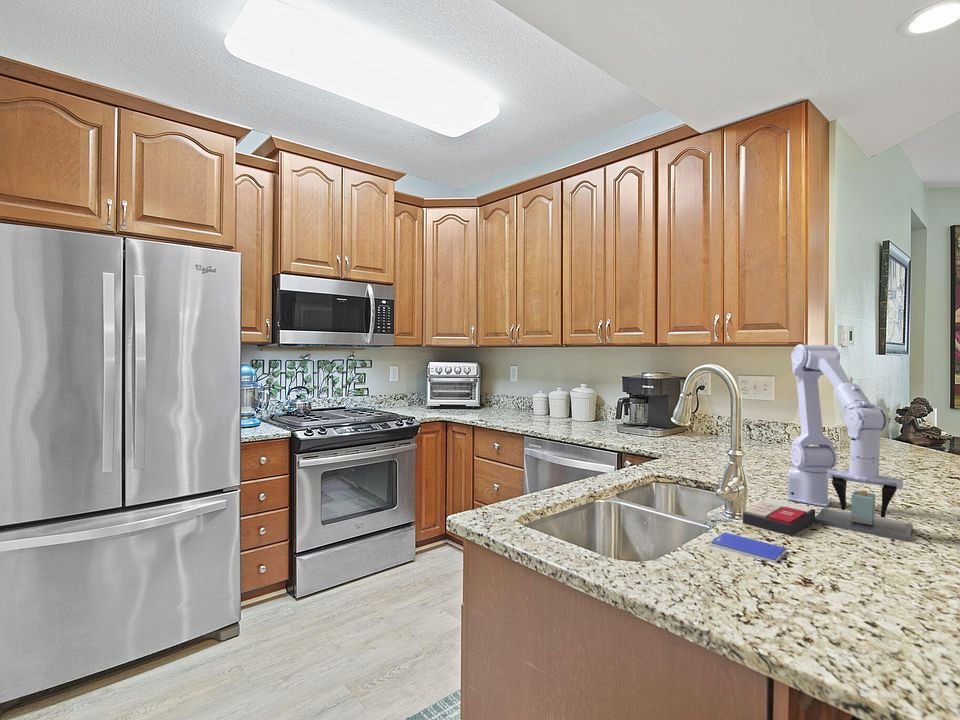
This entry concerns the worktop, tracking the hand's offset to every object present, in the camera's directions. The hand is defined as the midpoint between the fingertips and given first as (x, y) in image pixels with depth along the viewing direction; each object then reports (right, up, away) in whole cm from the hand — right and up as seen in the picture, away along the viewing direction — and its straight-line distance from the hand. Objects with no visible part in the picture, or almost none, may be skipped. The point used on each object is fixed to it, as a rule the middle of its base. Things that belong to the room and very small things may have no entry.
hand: (862, 512), depth 124 cm
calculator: (-20, -4, +1) cm, 20 cm away
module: (0, -2, 0) cm, 2 cm away
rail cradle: (0, -3, 0) cm, 3 cm away
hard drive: (-36, -4, -15) cm, 39 cm away
